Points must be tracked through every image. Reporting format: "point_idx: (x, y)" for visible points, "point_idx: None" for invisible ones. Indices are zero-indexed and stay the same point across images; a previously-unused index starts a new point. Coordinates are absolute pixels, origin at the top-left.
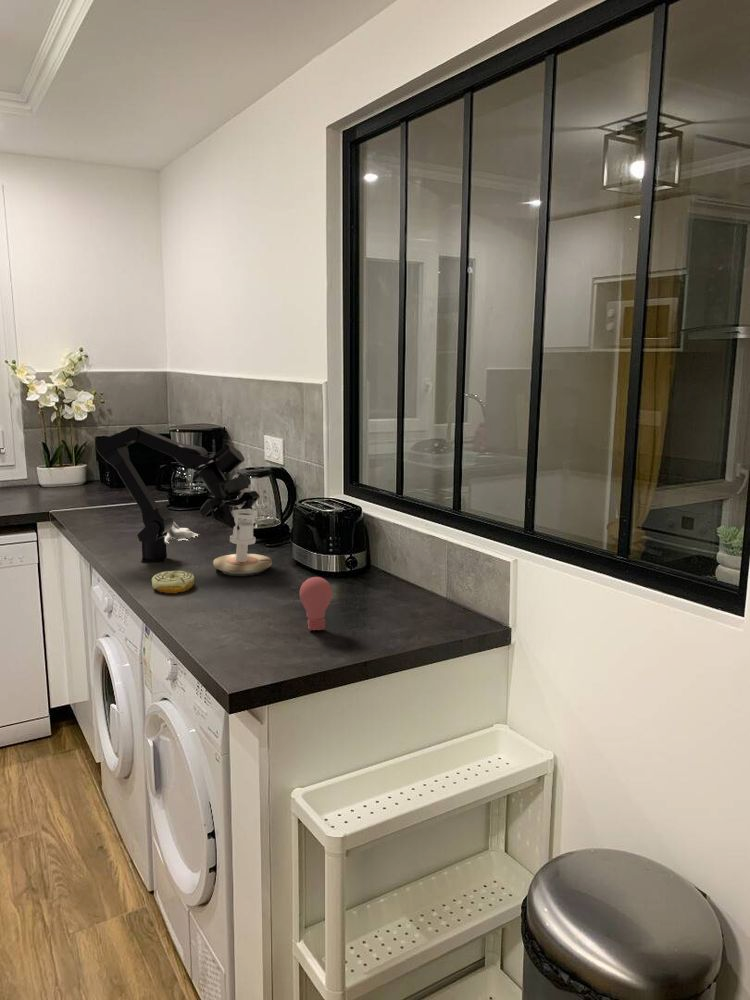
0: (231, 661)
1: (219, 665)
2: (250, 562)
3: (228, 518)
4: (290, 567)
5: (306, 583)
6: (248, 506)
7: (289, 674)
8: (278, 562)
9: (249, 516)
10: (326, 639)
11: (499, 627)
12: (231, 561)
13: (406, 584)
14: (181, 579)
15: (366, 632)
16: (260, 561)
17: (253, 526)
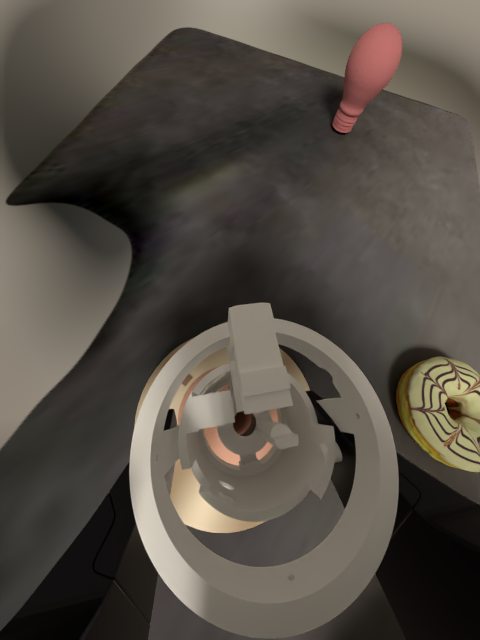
0: (450, 147)
1: (463, 149)
2: None
3: None
4: (123, 339)
5: (401, 41)
6: (80, 620)
7: (417, 106)
8: (97, 403)
9: (289, 327)
10: None
11: (186, 27)
12: None
13: (92, 124)
14: (455, 367)
15: (299, 97)
16: (197, 371)
17: (175, 419)
